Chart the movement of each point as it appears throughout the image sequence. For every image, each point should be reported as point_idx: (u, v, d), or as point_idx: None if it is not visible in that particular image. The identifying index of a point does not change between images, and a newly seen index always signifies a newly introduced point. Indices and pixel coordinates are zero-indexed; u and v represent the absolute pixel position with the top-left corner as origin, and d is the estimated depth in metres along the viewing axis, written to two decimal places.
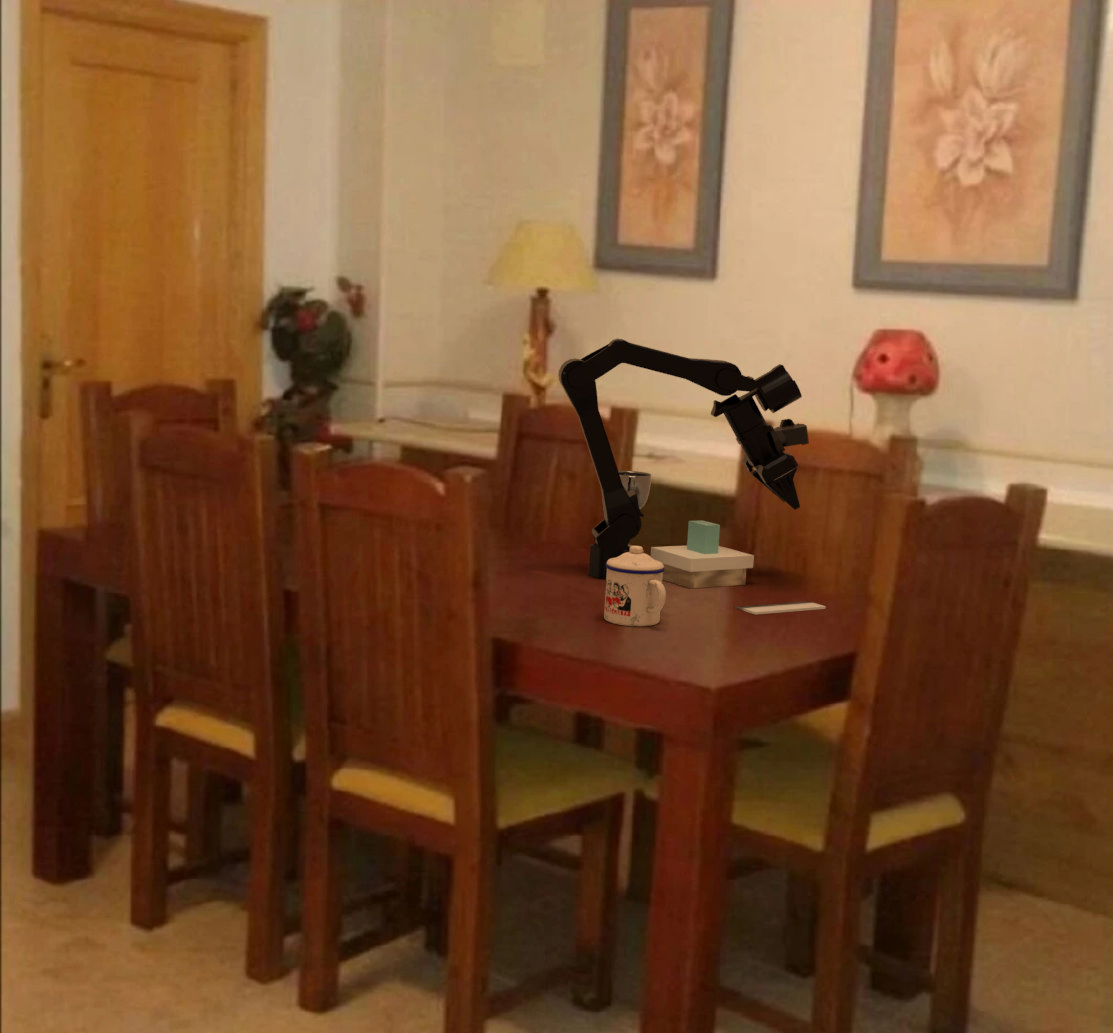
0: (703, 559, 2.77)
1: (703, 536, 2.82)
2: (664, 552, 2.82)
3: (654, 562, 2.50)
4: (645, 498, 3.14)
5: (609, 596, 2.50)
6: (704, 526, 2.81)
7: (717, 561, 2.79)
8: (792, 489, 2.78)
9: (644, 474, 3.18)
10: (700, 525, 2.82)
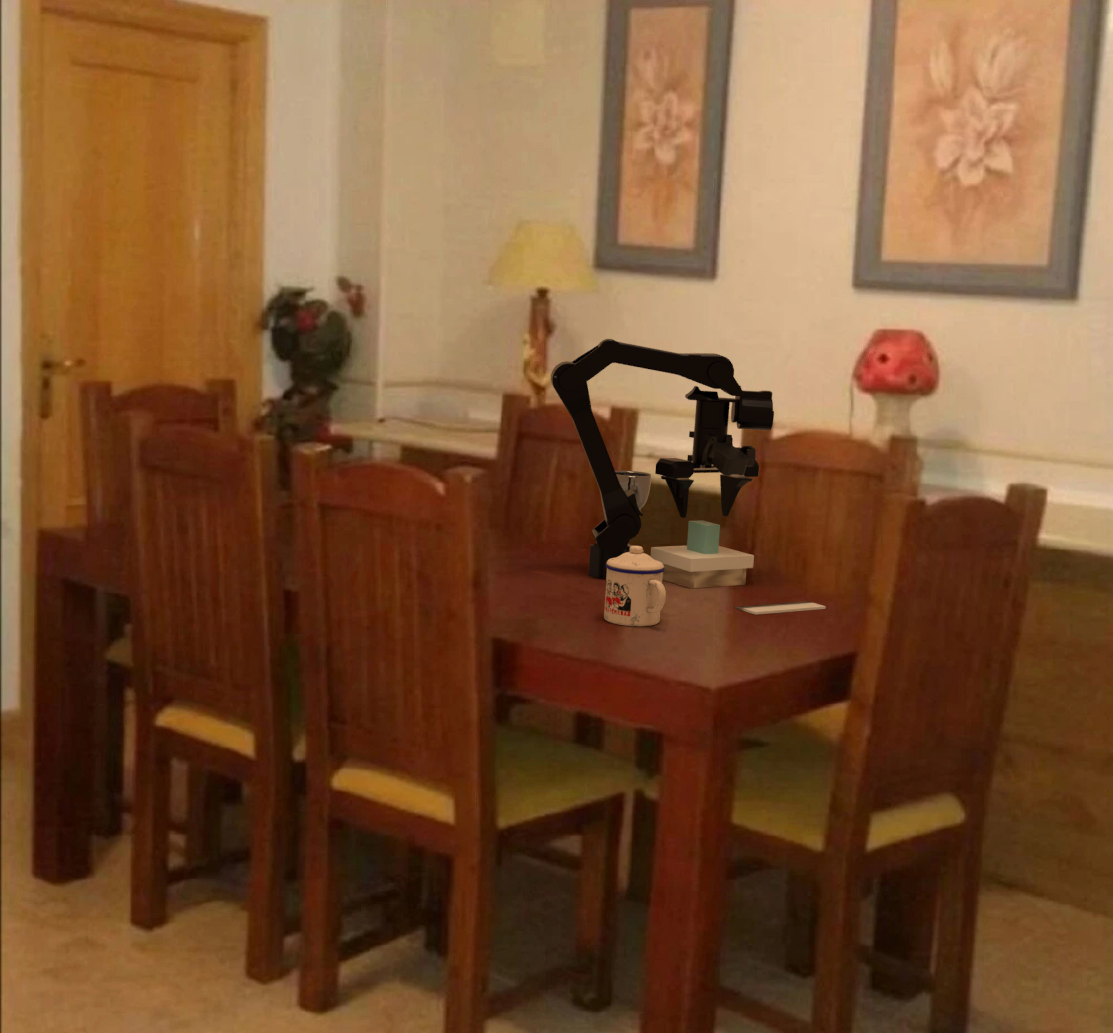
0: (703, 559, 2.77)
1: (703, 536, 2.82)
2: (664, 552, 2.82)
3: (654, 562, 2.50)
4: (645, 498, 3.14)
5: (609, 596, 2.50)
6: (704, 526, 2.81)
7: (717, 561, 2.79)
8: (681, 497, 2.79)
9: (644, 474, 3.18)
10: (700, 525, 2.82)
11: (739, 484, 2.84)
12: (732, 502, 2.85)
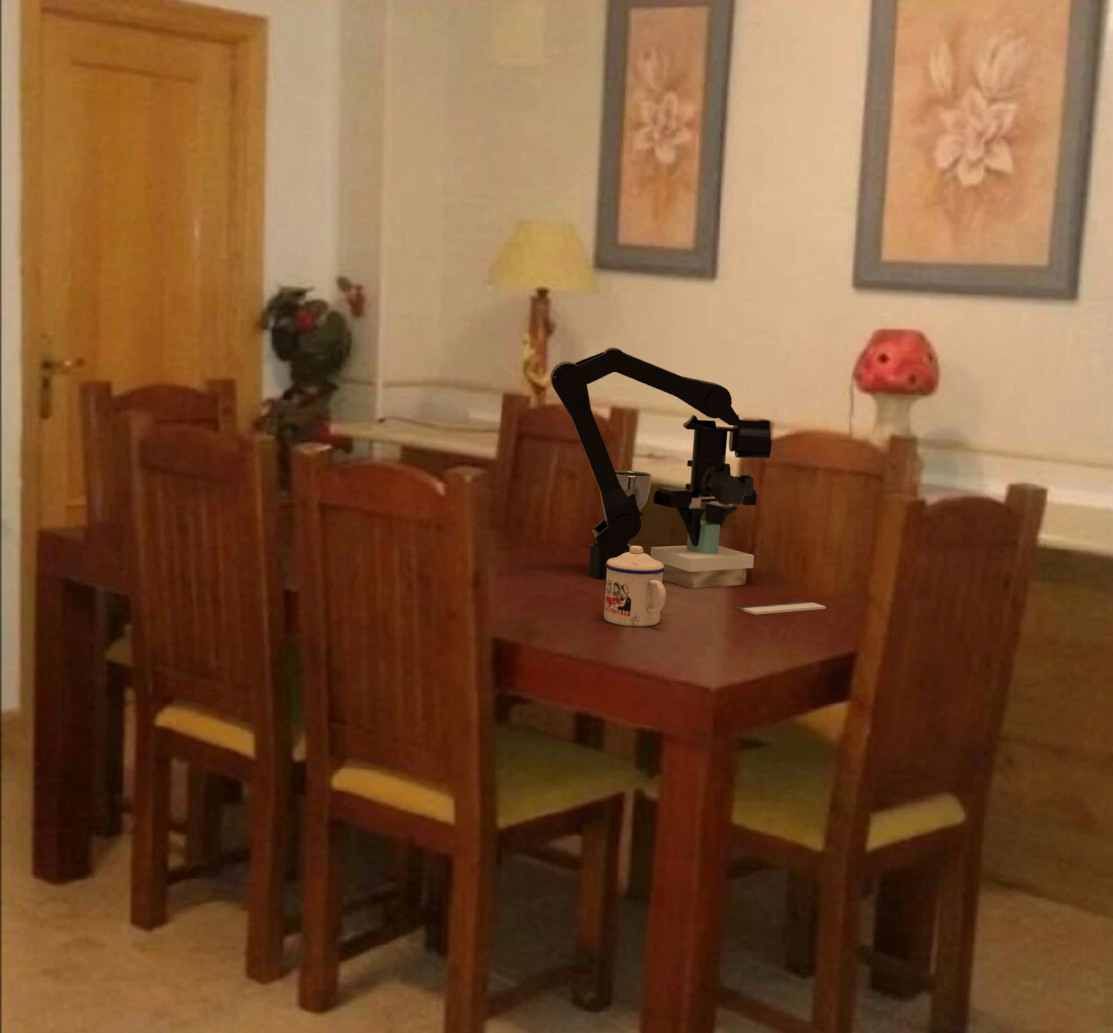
0: (703, 559, 2.77)
1: (703, 536, 2.82)
2: (664, 552, 2.82)
3: (654, 562, 2.50)
4: (645, 498, 3.14)
5: (609, 596, 2.50)
6: (704, 526, 2.81)
7: (717, 561, 2.79)
8: (693, 526, 2.82)
9: (644, 474, 3.18)
10: (700, 525, 2.82)
11: (724, 513, 2.83)
12: None
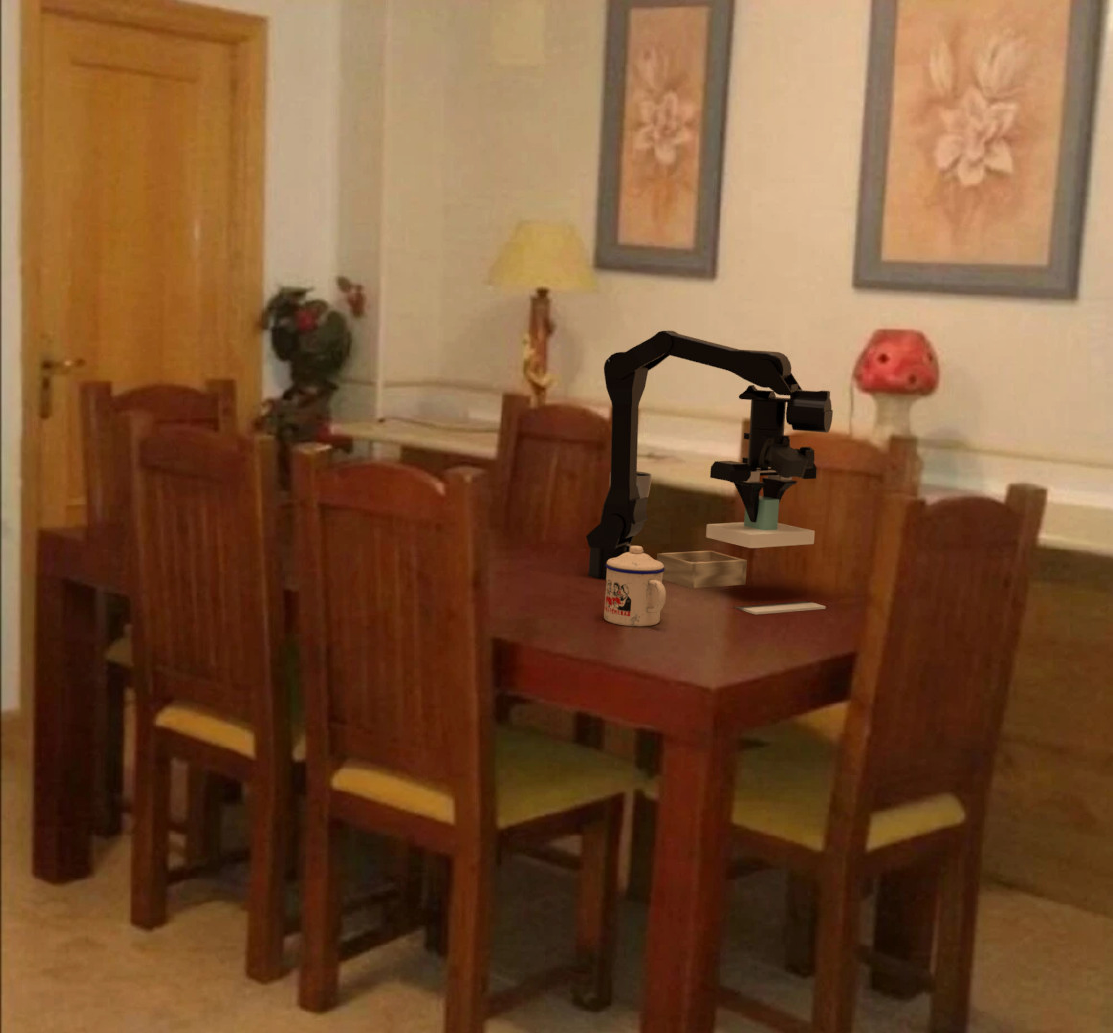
0: (763, 535, 2.66)
1: (762, 511, 2.70)
2: (721, 529, 2.70)
3: (654, 562, 2.50)
4: None
5: (609, 596, 2.50)
6: (763, 501, 2.69)
7: (778, 537, 2.67)
8: (751, 501, 2.70)
9: (644, 474, 3.18)
10: None
11: (783, 488, 2.71)
12: None
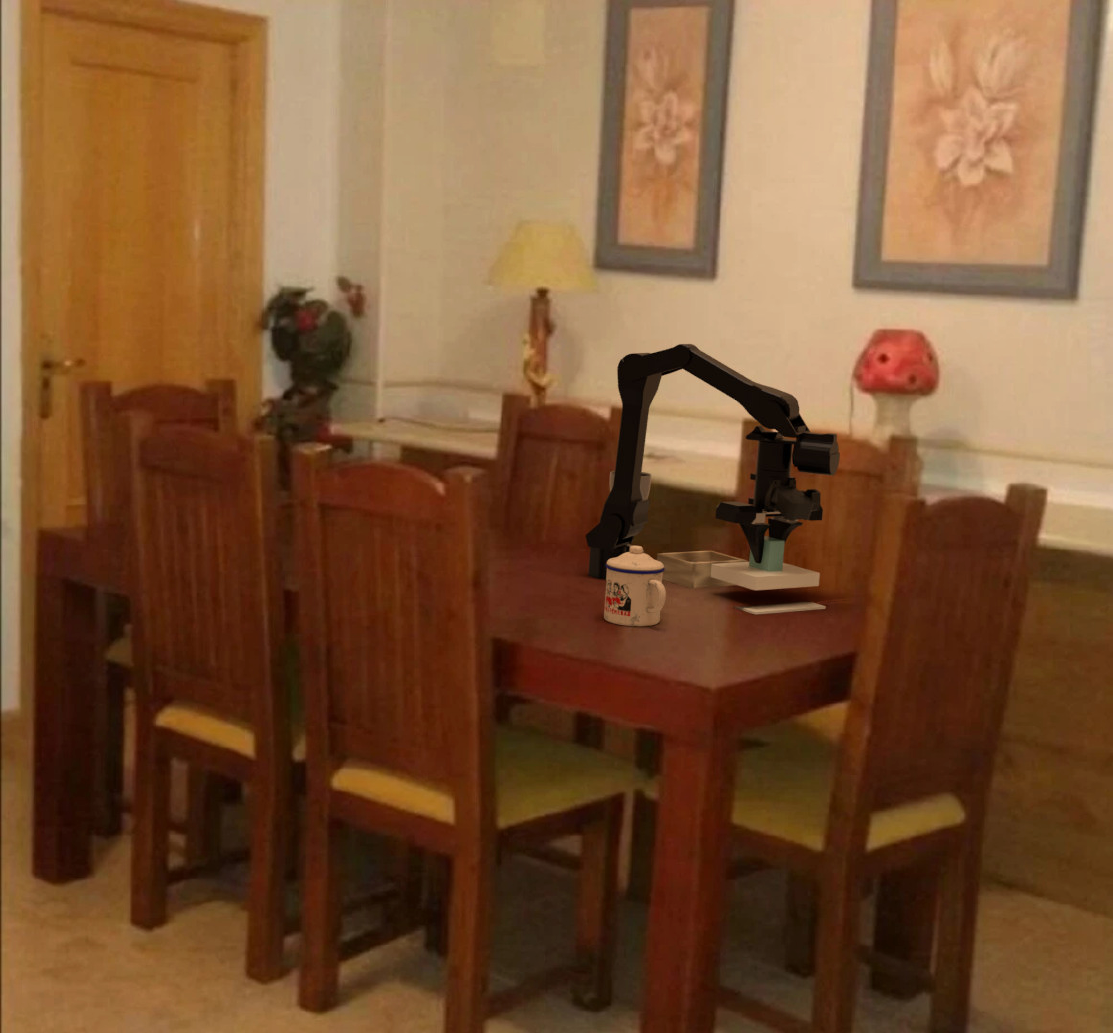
0: (768, 577, 2.65)
1: (767, 553, 2.69)
2: (726, 569, 2.70)
3: (654, 562, 2.50)
4: (645, 498, 3.14)
5: (609, 596, 2.50)
6: (768, 542, 2.69)
7: (782, 579, 2.66)
8: (756, 542, 2.69)
9: (644, 474, 3.18)
10: (764, 541, 2.69)
11: (788, 529, 2.70)
12: None
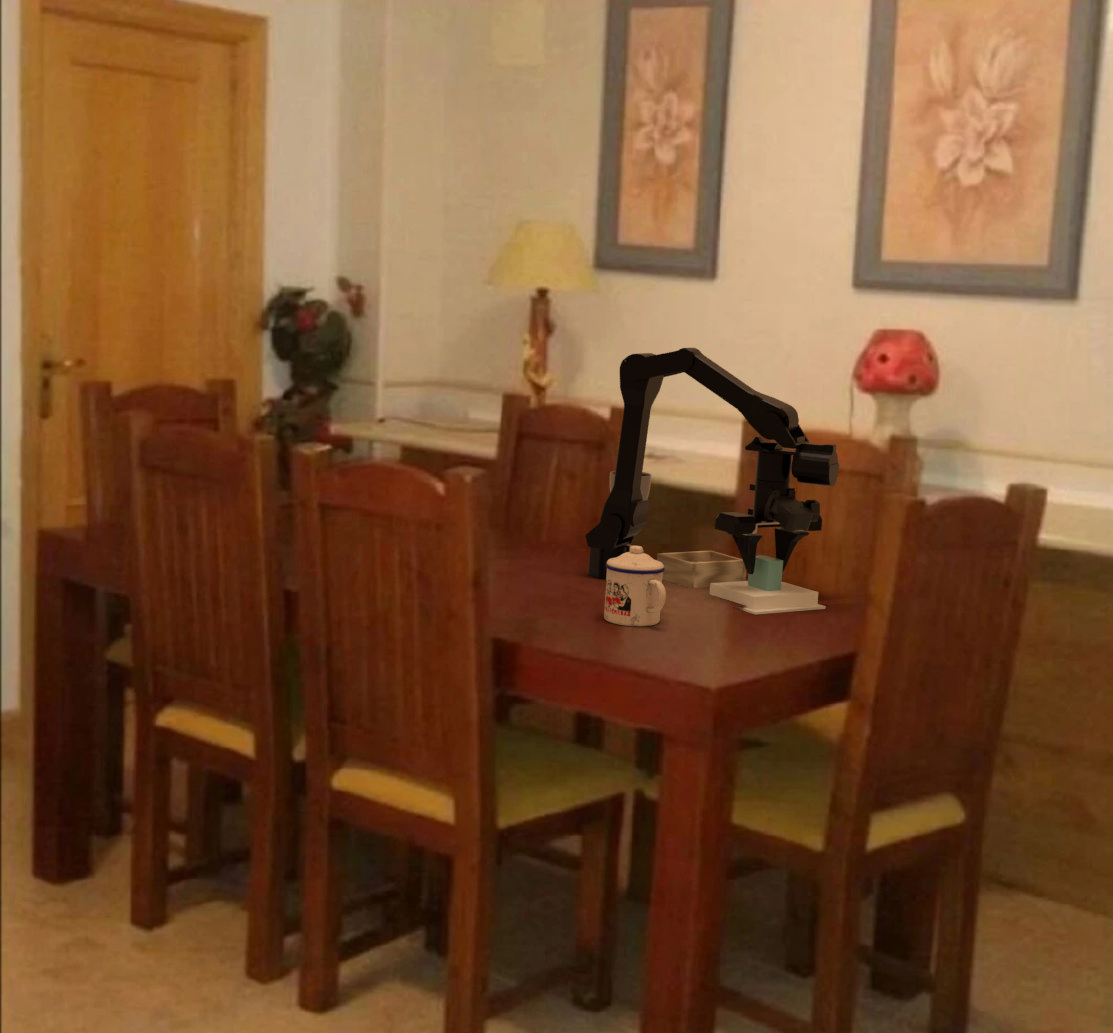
0: (767, 597, 2.65)
1: (765, 572, 2.69)
2: (725, 589, 2.70)
3: (654, 562, 2.50)
4: (645, 498, 3.14)
5: (609, 596, 2.50)
6: (767, 562, 2.69)
7: (781, 599, 2.67)
8: (748, 553, 2.68)
9: (644, 474, 3.18)
10: (762, 561, 2.70)
11: (795, 539, 2.72)
12: (787, 557, 2.73)
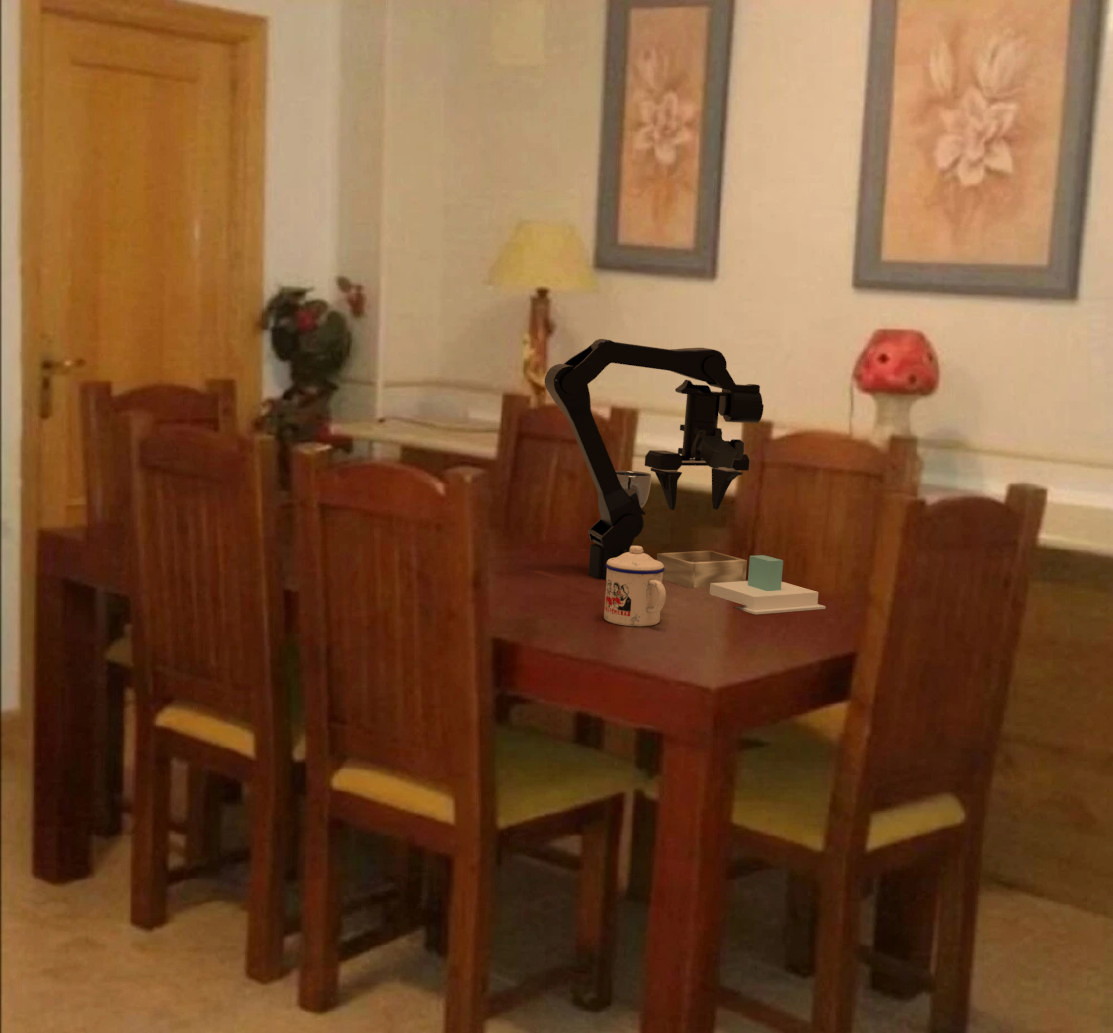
0: (767, 597, 2.65)
1: (765, 572, 2.69)
2: (725, 589, 2.70)
3: (654, 562, 2.50)
4: (645, 498, 3.14)
5: (609, 596, 2.50)
6: (767, 562, 2.69)
7: (781, 599, 2.67)
8: (669, 489, 2.82)
9: (644, 474, 3.18)
10: (762, 561, 2.70)
11: (729, 478, 2.87)
12: (722, 495, 2.88)
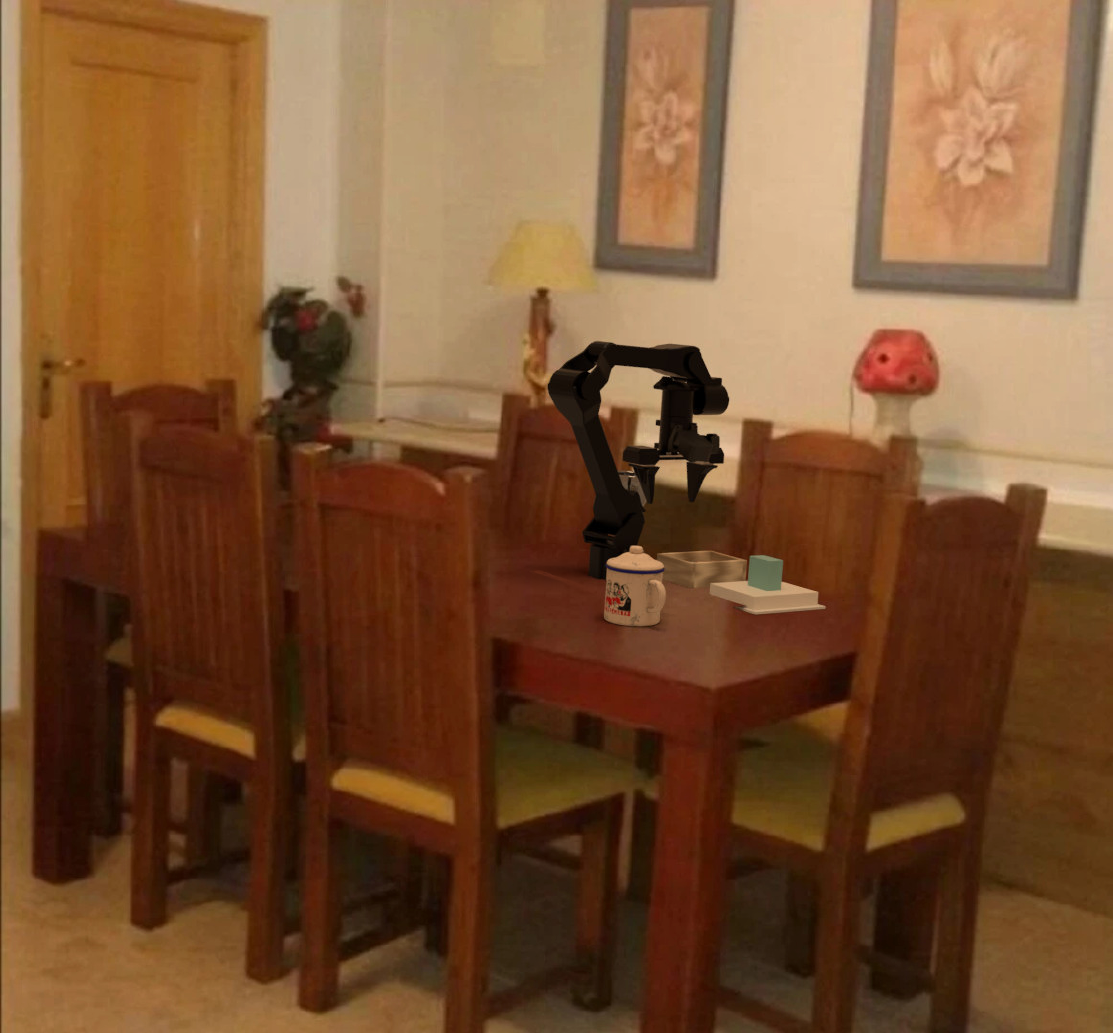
0: (767, 597, 2.65)
1: (765, 572, 2.69)
2: (725, 589, 2.70)
3: (654, 562, 2.50)
4: (645, 498, 3.14)
5: (609, 596, 2.50)
6: (767, 562, 2.69)
7: (781, 599, 2.67)
8: (647, 484, 2.87)
9: None
10: (762, 561, 2.70)
11: (704, 471, 2.92)
12: (698, 488, 2.93)
